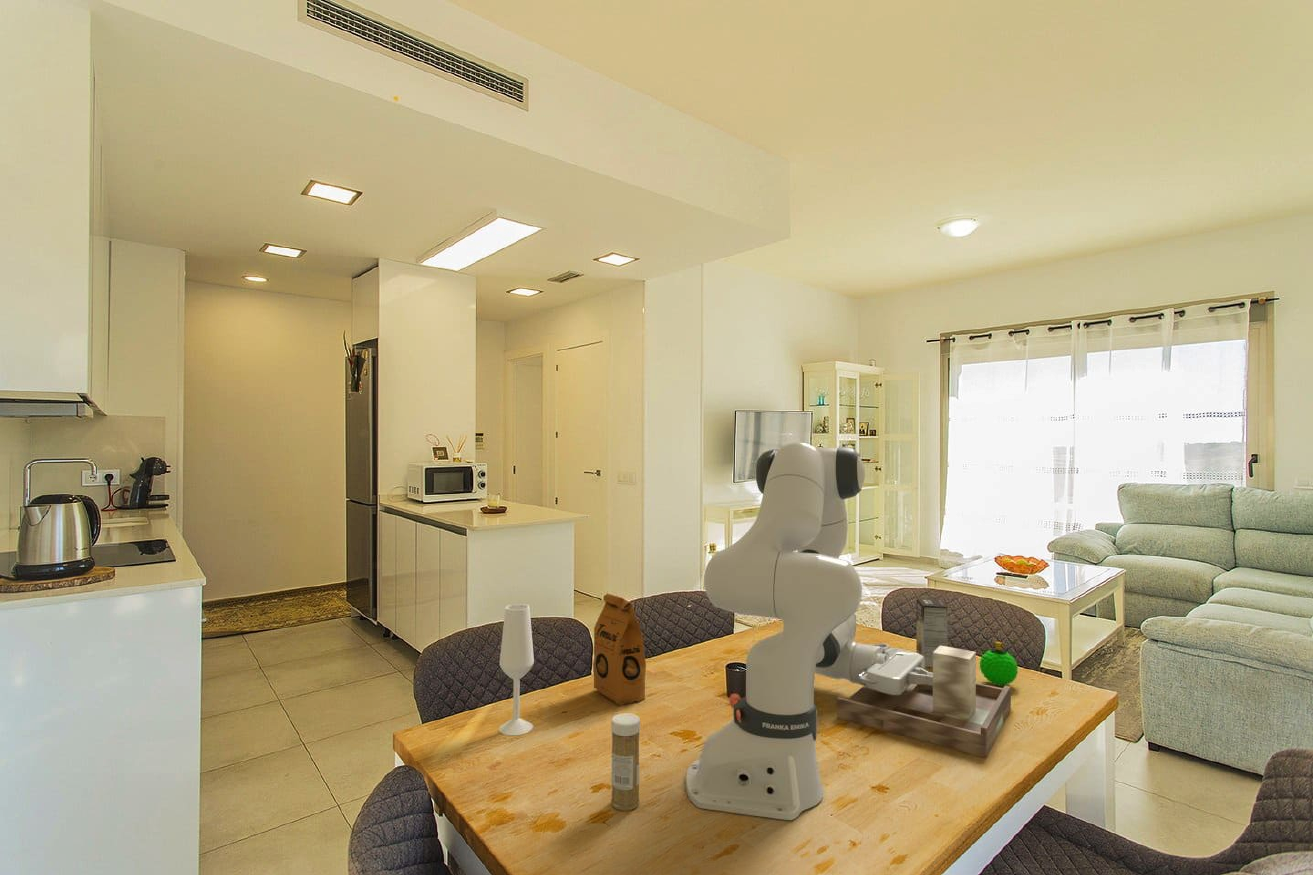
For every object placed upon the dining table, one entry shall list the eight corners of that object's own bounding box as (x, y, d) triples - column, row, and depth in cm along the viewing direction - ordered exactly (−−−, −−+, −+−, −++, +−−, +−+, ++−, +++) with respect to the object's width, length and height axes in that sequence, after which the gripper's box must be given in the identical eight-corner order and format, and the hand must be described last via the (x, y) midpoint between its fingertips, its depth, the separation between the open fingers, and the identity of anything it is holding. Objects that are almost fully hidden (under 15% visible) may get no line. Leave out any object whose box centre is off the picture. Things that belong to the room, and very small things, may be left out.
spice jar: (645, 801, 102) (645, 716, 102) (628, 815, 98) (629, 726, 98) (621, 792, 104) (622, 709, 104) (604, 806, 100) (605, 719, 100)
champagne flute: (538, 730, 127) (539, 608, 127) (504, 738, 123) (506, 612, 123) (526, 718, 132) (527, 601, 133) (494, 725, 129) (495, 605, 129)
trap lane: (837, 717, 134) (837, 693, 134) (880, 679, 156) (880, 658, 156) (985, 757, 117) (985, 730, 117) (1010, 708, 139) (1010, 685, 139)
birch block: (932, 710, 133) (932, 652, 133) (939, 701, 138) (940, 645, 138) (969, 719, 129) (969, 659, 129) (975, 709, 134) (975, 651, 134)
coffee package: (611, 709, 137) (612, 606, 137) (588, 689, 148) (589, 594, 148) (652, 700, 142) (653, 601, 142) (626, 682, 153) (627, 589, 153)
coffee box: (915, 656, 174) (915, 596, 174) (940, 657, 173) (940, 598, 173) (922, 667, 165) (922, 604, 165) (948, 669, 164) (949, 606, 164)
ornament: (985, 675, 159) (986, 635, 160) (1022, 684, 154) (1022, 642, 154) (974, 684, 154) (974, 642, 154) (1012, 693, 148) (1012, 650, 148)
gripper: (854, 663, 136) (922, 678, 127) (884, 641, 152) (947, 652, 144) (853, 693, 135) (922, 710, 127) (884, 667, 152) (947, 681, 143)
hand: (935, 679), depth 136 cm, fingers closed
